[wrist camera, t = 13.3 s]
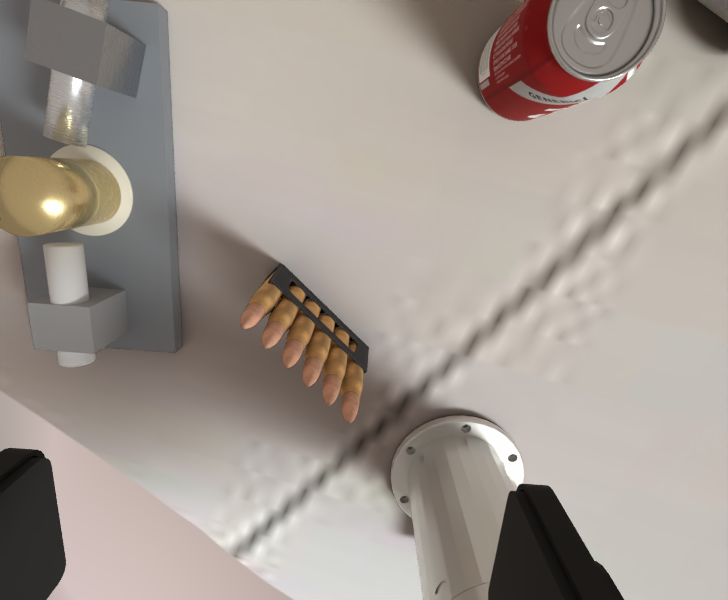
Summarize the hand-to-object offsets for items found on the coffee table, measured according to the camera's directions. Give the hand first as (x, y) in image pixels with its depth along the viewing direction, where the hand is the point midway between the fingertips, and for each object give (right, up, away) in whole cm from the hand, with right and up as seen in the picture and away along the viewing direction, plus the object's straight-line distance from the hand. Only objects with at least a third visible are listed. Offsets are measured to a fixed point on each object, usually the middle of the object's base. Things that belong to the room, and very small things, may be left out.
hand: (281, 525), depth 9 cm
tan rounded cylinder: (-19, +13, +24) cm, 33 cm away
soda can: (+13, +22, +23) cm, 34 cm away
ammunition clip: (-2, +4, +29) cm, 29 cm away
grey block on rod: (-17, +20, +22) cm, 34 cm away
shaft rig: (-19, +13, +26) cm, 35 cm away
